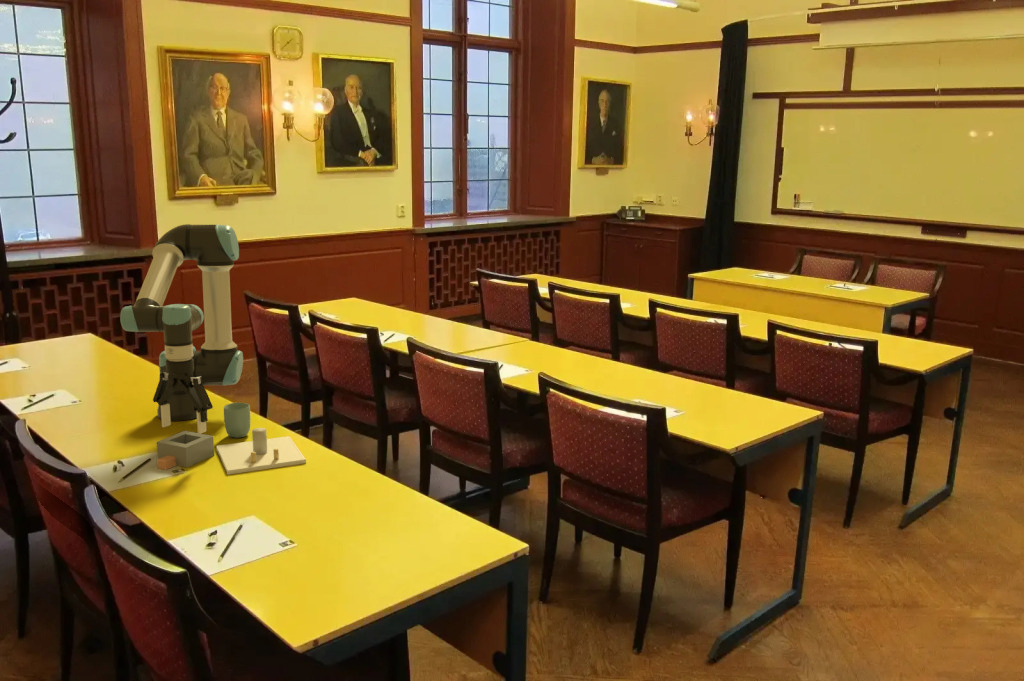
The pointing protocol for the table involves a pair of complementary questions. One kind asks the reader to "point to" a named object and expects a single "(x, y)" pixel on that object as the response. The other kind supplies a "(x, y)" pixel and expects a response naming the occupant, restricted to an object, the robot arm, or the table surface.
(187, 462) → the grey hollow box
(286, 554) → the table surface
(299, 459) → the post block
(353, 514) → the table surface
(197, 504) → the table surface
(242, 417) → the cup
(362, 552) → the table surface
